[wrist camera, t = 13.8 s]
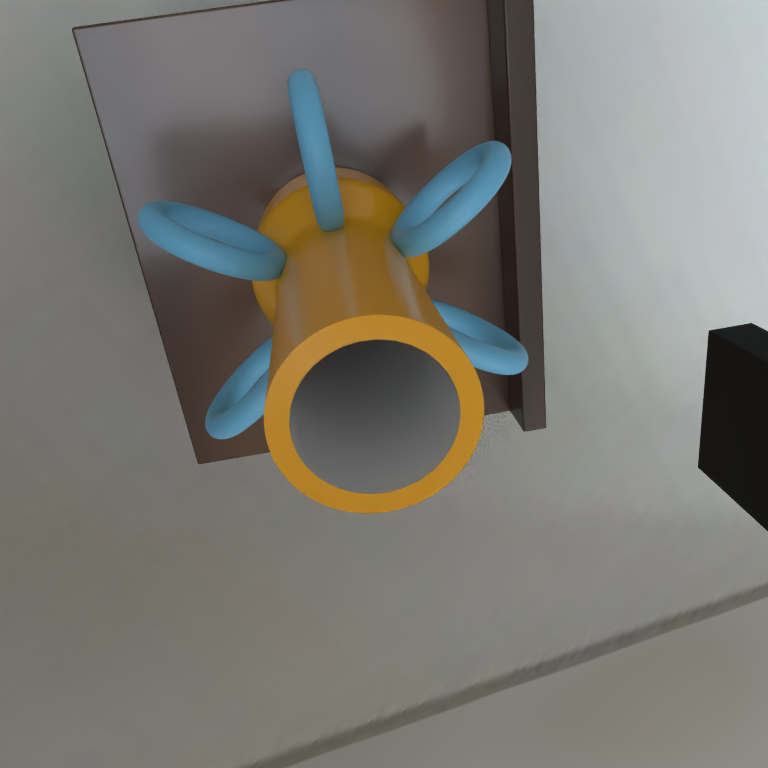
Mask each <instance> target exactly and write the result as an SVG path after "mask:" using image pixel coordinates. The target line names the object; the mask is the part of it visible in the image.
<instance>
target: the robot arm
mask: <svg viewBox="0 0 768 768" xmlns="http://www.w3.org/2000/svg"><path fill="white" fill-rule="evenodd" d="M698 468H699V469H700V470H702V471H703V472H704V473H705V474H706V475H707V476H708V477H709V478H710V479H711V480H712V481H714V482H715V483H716V484H717V485H718V486H719V487H720V488H721V489H722V490H723V491H724V492H726V493H727V494H728V495H729V496H730V497H731V498H732V499H733V500H734V501H735V502H736V503H738V504H739V505H740V506H741V507H742V508H743V509H744V510H745V511H746V512H747V513H748V514H750V515H751V516H752V517H753V518H754V519H755V520H756V521H757V522H758V523H759V524H760V525H762V526H763V527H764V528H765V529H766V530H767V531H768V331H766V330H764V329H762V328H760V327H758V326H756V325H754V324H752V323H750V324H744V325H738V326H733V327H727V328H721V329H716V330H710V331H709V335H708V348H707V360H706V373H705V385H704V398H703V411H702V423H701V436H700V448H699V461H698Z"/></svg>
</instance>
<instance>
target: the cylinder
mask: <svg viewBox="0 0 768 768" xmlns="http://www.w3.org/2000/svg"><path fill="white" fill-rule="evenodd" d="M287 89H288V95H289V100H290V105H291V110H292V115H293V120H294V125H295V129H296V134H297V139H298V143H299V148H300V152H301V157H302V161H303V166H304V170H305V173H304V174H302V175H300V176H298V177H296V178H294V179H293V180H291V181H290V182H288V183H287V184H286V185H285V186H283V187H282V188H281V189H280V190H279V191H278V192H277V193H276V194H275V196H274V197H273V198H272V200H271V201H270V202H269V204H268V206H267V207H266V209H265V211H264V213H263V216H262V218H261V221H260V224H259V227H258V230H257V231H256V230H254V229H252V228H250V227H248V226H246V225H244V224H241V223H239V222H237V221H234V220H232V219H230V218H227V217H224V216H222V215H219V214H216V213H214V212H211V211H208V210H204V209H201V208H198V207H194V206H190V205H186V204H182V203H177V202H170V201H153V202H150V203H147V204H145V205H144V206H143V207H142V208H141V209H140V211H139V213H138V224H139V227H140V229H141V231H142V232H143V233H144V235H145V236H146V237H147V238H148V239H150V240H151V241H152V242H153V243H155V244H156V245H158V246H159V247H161V248H162V249H164V250H166V251H167V252H169V253H171V254H173V255H175V256H177V257H179V258H181V259H183V260H185V261H188V262H190V263H192V264H195V265H197V266H200V267H202V268H205V269H208V270H211V271H214V272H217V273H220V274H224V275H228V276H231V277H236V278H240V279H246V280H252V285H253V289H254V293H255V296H256V299H257V301H258V303H259V305H260V307H261V309H262V311H263V313H264V314H265V316H266V317H267V319H268V320H269V321H270V323H271V324H272V325H273V326H274V329H273V336H272V337H270V338H269V339H268V340H266V341H265V342H264V343H263V344H262V345H260V346H259V347H258V348H257V349H256V350H255V351H254V352H253V353H252V354H251V355H250V356H249V357H248V358H247V359H246V360H245V361H244V362H243V363H242V364H241V365H240V366H239V367H238V368H237V369H236V371H235V372H234V373H233V374H232V375H231V376H230V378H229V379H228V380H227V381H226V383H225V384H224V385H223V387H222V388H221V389H220V391H219V392H218V394H217V395H216V397H215V398H214V400H213V402H212V404H211V405H210V407H209V410H208V412H207V415H206V419H205V427H206V430H207V432H208V433H209V434H210V435H211V436H212V437H214V438H216V439H228V438H231V437H234V436H236V435H238V434H239V433H241V432H243V431H244V430H245V429H247V428H248V427H250V426H251V425H252V424H253V423H255V422H256V421H257V420H258V419H259V418H260V417H261V416H262V415H263V414H264V430H265V436H266V441H267V444H268V447H269V450H270V453H271V455H272V457H273V459H274V461H275V463H276V465H277V466H278V468H279V469H280V471H281V472H282V474H283V475H284V476H285V477H286V478H287V479H288V481H289V482H290V483H291V484H292V485H294V486H295V487H296V488H297V489H298V490H299V491H301V492H302V493H303V494H305V495H306V496H308V497H310V498H311V499H313V500H315V501H317V502H319V503H321V504H323V505H326V506H329V507H332V508H335V509H338V510H343V511H348V512H354V513H382V512H389V511H394V510H399V509H402V508H406V507H409V506H411V505H414V504H416V503H419V502H421V501H423V500H425V499H427V498H429V497H430V496H432V495H434V494H435V493H437V492H438V491H440V490H441V489H442V488H444V487H445V486H446V485H447V484H449V483H450V482H451V481H452V480H453V479H454V478H455V477H456V476H457V475H458V474H459V473H460V471H461V470H462V469H463V468H464V466H465V465H466V463H467V462H468V461H469V459H470V457H471V456H472V454H473V452H474V450H475V448H476V446H477V443H478V441H479V438H480V434H481V431H482V426H483V420H484V398H483V392H482V387H481V384H480V380H479V378H478V375H477V373H476V371H475V369H474V367H475V368H478V369H481V370H484V371H487V372H491V373H495V374H501V375H514V374H518V373H520V372H521V371H523V370H524V369H525V368H526V366H527V364H528V354H527V352H526V350H525V348H524V347H523V346H522V345H521V344H520V343H519V342H518V341H517V340H516V339H515V338H513V337H512V336H511V335H509V334H508V333H506V332H505V331H503V330H502V329H500V328H498V327H497V326H495V325H493V324H491V323H490V322H488V321H486V320H484V319H482V318H480V317H478V316H476V315H474V314H472V313H469V312H467V311H465V310H462V309H460V308H457V307H455V306H452V305H449V304H446V303H443V302H440V301H436V300H432V299H430V297H429V296H428V294H427V293H426V288H427V284H428V277H429V257H428V251H430V250H432V249H434V248H436V247H437V246H439V245H440V244H442V243H443V242H445V241H446V240H448V239H449V238H450V237H452V236H453V235H454V234H456V233H457V232H458V231H459V230H460V229H462V228H463V227H464V226H465V225H466V224H467V223H469V222H470V221H471V220H472V219H473V218H474V217H475V216H476V215H477V214H478V213H479V212H480V211H481V210H482V209H483V208H484V207H485V206H486V204H487V203H488V202H489V201H490V200H491V199H492V197H493V196H494V195H495V194H496V192H497V191H498V190H499V188H500V187H501V185H502V184H503V182H504V181H505V179H506V177H507V175H508V173H509V170H510V167H511V161H512V158H511V153H510V150H509V149H508V147H507V146H506V145H505V144H503V143H501V142H499V141H488V142H485V143H482V144H479V145H477V146H475V147H473V148H472V149H470V150H468V151H467V152H465V153H464V154H462V155H461V156H459V157H458V158H457V159H455V160H454V161H453V162H451V163H450V164H449V165H447V166H446V167H445V168H444V169H443V170H442V171H440V172H439V173H438V174H437V175H436V176H435V177H434V178H433V179H432V180H430V181H429V182H428V183H427V184H426V185H425V186H424V187H423V188H422V189H421V190H420V191H419V193H418V194H417V195H416V196H415V197H414V198H413V199H412V200H411V202H410V203H409V204H408V205H407V206H406V207H405V206H404V204H403V203H402V202H401V201H400V200H399V199H398V198H397V197H396V196H395V195H394V194H393V193H392V192H391V191H390V190H389V189H388V188H387V187H386V186H385V185H383V184H382V183H381V182H379V181H378V180H376V179H375V178H373V177H371V176H369V175H367V174H365V173H362V172H359V171H356V170H353V169H348V168H341V167H335V164H334V159H333V154H332V149H331V145H330V140H329V135H328V130H327V126H326V121H325V116H324V112H323V107H322V103H321V98H320V94H319V90H318V86H317V82H316V79H315V77H314V76H313V74H312V73H311V72H309V71H308V70H305V69H297V70H295V71H293V72H292V73H291V74H290V76H289V78H288V81H287ZM464 184H465V185H464ZM463 185H464V186H463ZM462 186H463V187H462ZM461 187H462V188H461ZM459 188H461V189H460V190H459V191H458V192H457V193H456V194H455V195H454V196H453V197H452V198H451V199H450V200H449V201H448V202H447V203H446V204H445V205H444V206H442V207H441V208H440V209H439V210H438V211H436V210H437V209H438V208H439V207H440V206H441V205H442V204H443V203H444V202H445V201H446V200H447V199H448V198H449V197H450V196H451V195H452V194H453V193H455V192H456V191H457V190H458V189H459ZM435 211H436V212H435ZM434 212H435V213H434ZM433 213H434V214H433ZM432 214H433V215H432ZM210 238H211V239H210ZM213 239H214V240H213ZM215 240H217V241H215ZM218 241H219V242H218ZM221 242H222V243H221ZM263 374H264V375H263ZM262 375H263V376H262ZM261 376H262V377H261ZM260 377H261V378H260ZM259 378H260V379H259ZM258 380H259V381H258ZM257 381H258V382H257ZM256 382H257V383H256ZM255 383H256V384H255ZM254 384H255V385H254ZM253 385H254V386H253ZM252 386H253V387H252Z"/></svg>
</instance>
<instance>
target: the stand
mask: <svg viewBox="0 0 768 768" xmlns="http://www.w3.org/2000/svg"><path fill="white" fill-rule="evenodd" d="M72 32H73V35H74V39H75V42H76V46H77V49H78V53H79V56H80V60H81V63H82V66H83V70H84V73H85V77H86V80H87V84H88V87H89V91H90V94H91V97H92V101H93V104H94V108H95V111H96V115H97V118H98V122H99V125H100V128H101V132H102V135H103V139H104V142H105V146H106V149H107V152H108V156H109V159H110V163H111V166H112V170H113V173H114V177H115V180H116V183H117V187H118V190H119V194H120V197H121V201H122V204H123V208H124V211H125V214H126V218H127V221H128V225H129V228H130V232H131V235H132V239H133V242H134V245H135V249H136V252H137V256H138V259H139V263H140V266H141V269H142V273H143V276H144V280H145V283H146V287H147V290H148V294H149V297H150V300H151V304H152V307H153V311H154V314H155V318H156V321H157V325H158V328H159V331H160V335H161V338H162V342H163V345H164V349H165V352H166V356H167V359H168V362H169V366H170V369H171V373H172V376H173V380H174V383H175V387H176V390H177V393H178V397H179V400H180V404H181V407H182V411H183V414H184V417H185V421H186V424H187V428H188V431H189V435H190V438H191V442H192V445H193V448H194V452H195V455H196V459H197V462H198V464H204V463H209V462H215V461H221V460H227V459H233V458H238V457H244V456H250V455H256V454H262V453H267V452H270V450H269V447H268V444H267V441H266V436H265V430H264V414H263V415H262V416H261V417H260V418H259V419H258V420H257V421H256V422H255V423H253V424H252V425H251V426H250V427H248V428H247V429H245V430H244V431H243V432H241V433H239V434H238V435H236V436H234V437H231V438H228V439H216V438H214V437H212V436H211V435H210V434H209V433H208V432H207V430H206V427H205V419H206V415H207V412H208V410H209V407H210V405H211V404H212V402H213V400H214V398H215V397H216V395H217V394H218V392H219V391H220V389H221V388H222V387H223V385H224V384H225V383H226V381H227V380H228V379H229V378H230V376H231V375H232V374H233V373H234V372H235V371H236V369H237V368H238V367H239V366H240V365H241V364H242V363H243V362H244V361H245V360H246V359H247V358H248V357H249V356H250V355H251V354H252V353H253V352H254V351H255V350H256V349H257V348H258V347H259V346H260V345H262V344H263V343H264V342H265V341H266V340H268V339H269V338H270V337H272V336H273V329H274V326H273V325H272V324H271V323H270V321H269V320H268V319H267V317H266V316H265V314H264V313H263V311H262V309H261V307H260V305H259V303H258V301H257V299H256V296H255V293H254V289H253V285H252V280H246V279H240V278H236V277H231V276H228V275H224V274H220V273H217V272H214V271H211V270H208V269H205V268H202V267H200V266H197V265H195V264H192V263H190V262H188V261H185V260H183V259H181V258H179V257H177V256H175V255H173V254H171V253H169V252H167V251H166V250H164V249H162V248H161V247H159V246H158V245H156V244H155V243H153V242H152V241H151V240H150V239H148V238H147V237H146V236H145V235H144V233H143V232H142V231H141V229H140V227H139V224H138V213H139V211H140V209H141V208H142V207H143V206H144V205H145V204H147V203H150V202H153V201H170V202H177V203H182V204H186V205H190V206H194V207H198V208H201V209H204V210H208V211H211V212H214V213H216V214H219V215H222V216H224V217H227V218H230V219H232V220H234V221H237V222H239V223H241V224H244V225H246V226H248V227H250V228H252V229H254V230H256V231H257V230H258V227H259V224H260V221H261V218H262V216H263V213H264V211H265V209H266V207H267V206H268V204H269V202H270V201H271V200H272V198H273V197H274V196H275V194H276V193H277V192H278V191H279V190H280V189H281V188H282V187H283V186H285V185H286V184H287V183H288V182H290V181H291V180H293V179H294V178H296V177H298V176H300V175H302V174H304V173H305V170H304V166H303V161H302V157H301V152H300V148H299V143H298V139H297V134H296V129H295V125H294V120H293V115H292V110H291V105H290V100H289V95H288V89H287V81H288V78H289V76H290V74H291V73H292V72H293V71H295V70H297V69H305V70H308V71H309V72H311V73H312V74H313V76H314V77H315V79H316V82H317V86H318V90H319V94H320V98H321V103H322V107H323V112H324V116H325V121H326V126H327V130H328V135H329V140H330V145H331V149H332V154H333V159H334V164H335V167H341V168H348V169H353V170H356V171H359V172H362V173H365V174H367V175H369V176H371V177H373V178H375V179H376V180H378V181H379V182H381V183H382V184H383V185H385V186H386V187H387V188H388V189H389V190H390V191H391V192H392V193H393V194H394V195H395V196H396V197H397V198H398V199H399V200H400V201H401V202H402V203H403V204H404V206H405V207H406V206H407V205H408V204H409V203H410V202H411V200H412V199H413V198H414V197H415V196H416V195H417V194H418V193H419V191H420V190H421V189H422V188H423V187H424V186H425V185H426V184H427V183H428V182H429V181H430V180H432V179H433V178H434V177H435V176H436V175H437V174H438V173H439V172H440V171H442V170H443V169H444V168H445V167H446V166H447V165H449V164H450V163H451V162H453V161H454V160H455V159H457V158H458V157H459V156H461V155H462V154H464V153H465V152H467V151H468V150H470V149H472V148H473V147H475V146H477V145H479V144H482V143H485V142H488V141H499V142H501V143H503V144H505V145H506V146H507V147H508V149H509V150H510V153H511V158H512V161H511V167H510V170H509V173H508V175H507V177H506V179H505V181H504V182H503V184H502V185H501V187H500V188H499V190H498V191H497V192H496V194H495V195H494V196H493V197H492V199H491V200H490V201H489V202H488V203H487V204H486V206H485V207H484V208H483V209H482V210H481V211H480V212H479V213H478V214H477V215H476V216H475V217H474V218H473V219H472V220H471V221H470V222H469V223H467V224H466V225H465V226H464V227H463V228H462V229H460V230H459V231H458V232H457V233H456V234H454V235H453V236H452V237H450V238H449V239H448V240H446V241H445V242H443V243H442V244H440V245H439V246H437V247H436V248H434V249H432V250H430V251H428V257H429V277H428V284H427V288H426V293H427V294H428V296H429V297H430V299H432V300H436V301H440V302H443V303H446V304H449V305H452V306H455V307H457V308H460V309H462V310H465V311H467V312H469V313H472V314H474V315H476V316H478V317H480V318H482V319H484V320H486V321H488V322H490V323H491V324H493V325H495V326H497V327H498V328H500V329H502V330H503V331H505V332H506V333H508V334H509V335H511V336H512V337H513V338H515V339H516V340H517V341H518V342H519V343H520V344H521V345H522V346H523V347H524V348H525V350H526V352H527V354H528V364H527V366H526V368H525V369H524V370H523V371H521V372H520V373H518V374H514V375H501V374H495V373H491V372H487V371H484V370H481V369H478V368H475V367H474V369H475V371H476V373H477V375H478V378H479V380H480V384H481V387H482V392H483V398H484V415H488V414H494V413H500V412H506V411H511V413H512V414H513V416H514V417H515V419H516V420H517V422H518V423H519V425H520V426H521V428H522V429H523V431H531V430H537V429H543V428H546V408H545V375H544V341H543V308H542V274H541V241H540V207H539V174H538V140H537V107H536V73H535V39H534V6H533V0H271V1H264V2H256V3H249V4H242V5H234V6H227V7H219V8H212V9H205V10H197V11H190V12H182V13H175V14H168V15H160V16H153V17H145V18H138V19H131V20H123V21H116V22H108V23H101V24H94V25H86V26H79V27H73V28H72ZM464 185H465V184H464ZM464 185H463V186H464ZM463 186H462V187H463ZM462 187H461V188H462ZM461 188H459V189H458V190H457V191H456V192H455V193H453V194H452V195H451V196H450V197H449V198H448V199H447V200H446V201H445V202H444V203H443V204H442V205H441V206H440V207H439V208H438V209H437V210H436V211H438V210H439V209H440V208H441V207H442V206H444V205H445V204H446V203H447V202H448V201H449V200H450V199H451V198H452V197H453V196H454V195H455V194H456V193H457V192H458V191H459V190H460V189H461ZM436 211H435V212H436ZM435 212H434V213H435ZM434 213H433V214H434ZM433 214H432V215H433ZM210 239H211V238H210ZM213 240H214V239H213ZM215 241H217V240H215ZM218 242H219V241H218ZM221 243H222V242H221ZM263 375H264V374H263ZM263 375H262V376H263ZM262 376H261V377H262ZM261 377H260V378H261ZM260 378H259V379H260ZM258 381H259V380H258ZM258 381H257V382H258ZM257 382H256V383H257ZM256 383H255V384H256ZM255 384H254V385H255ZM254 385H253V386H254ZM253 386H252V387H253Z"/></svg>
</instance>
